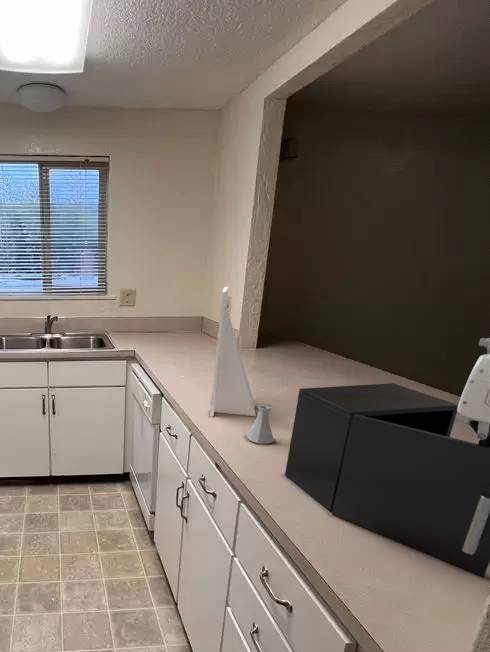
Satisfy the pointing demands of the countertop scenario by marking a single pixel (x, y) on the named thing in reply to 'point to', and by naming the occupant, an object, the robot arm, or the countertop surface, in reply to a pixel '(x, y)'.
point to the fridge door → (418, 490)
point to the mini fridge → (335, 422)
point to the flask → (261, 427)
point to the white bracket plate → (229, 371)
